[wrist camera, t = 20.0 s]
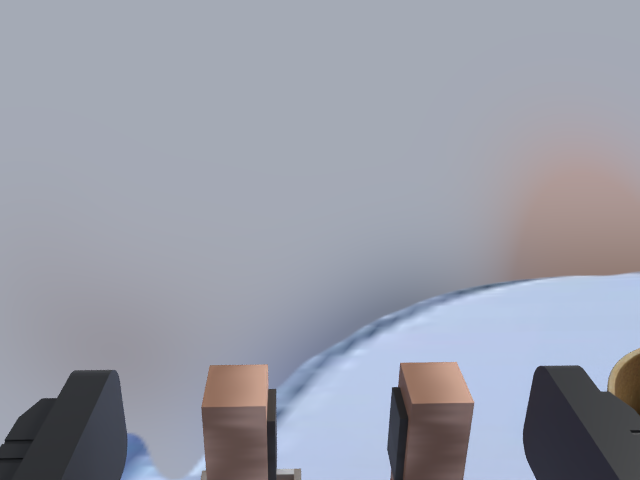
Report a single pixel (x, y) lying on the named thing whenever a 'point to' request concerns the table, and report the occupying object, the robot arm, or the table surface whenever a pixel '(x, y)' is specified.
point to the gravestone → (424, 424)
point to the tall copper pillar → (239, 423)
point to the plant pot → (627, 380)
